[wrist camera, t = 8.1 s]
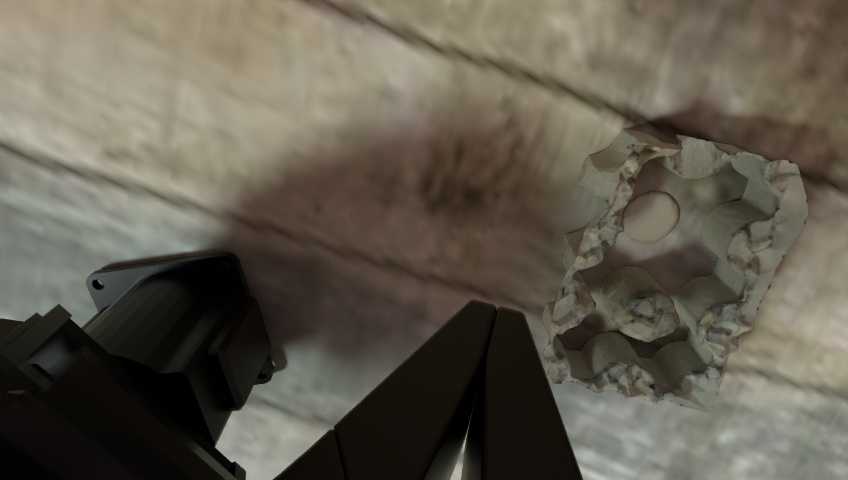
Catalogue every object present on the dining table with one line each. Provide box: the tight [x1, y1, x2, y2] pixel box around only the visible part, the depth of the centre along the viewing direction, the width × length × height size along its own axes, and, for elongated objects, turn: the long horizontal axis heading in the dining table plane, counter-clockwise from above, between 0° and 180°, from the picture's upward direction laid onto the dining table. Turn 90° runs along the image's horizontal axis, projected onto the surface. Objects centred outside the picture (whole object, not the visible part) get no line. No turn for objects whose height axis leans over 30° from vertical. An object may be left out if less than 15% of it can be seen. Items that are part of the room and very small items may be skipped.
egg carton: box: [542, 129, 808, 412], centre depth 21 cm, size 11×8×4 cm
